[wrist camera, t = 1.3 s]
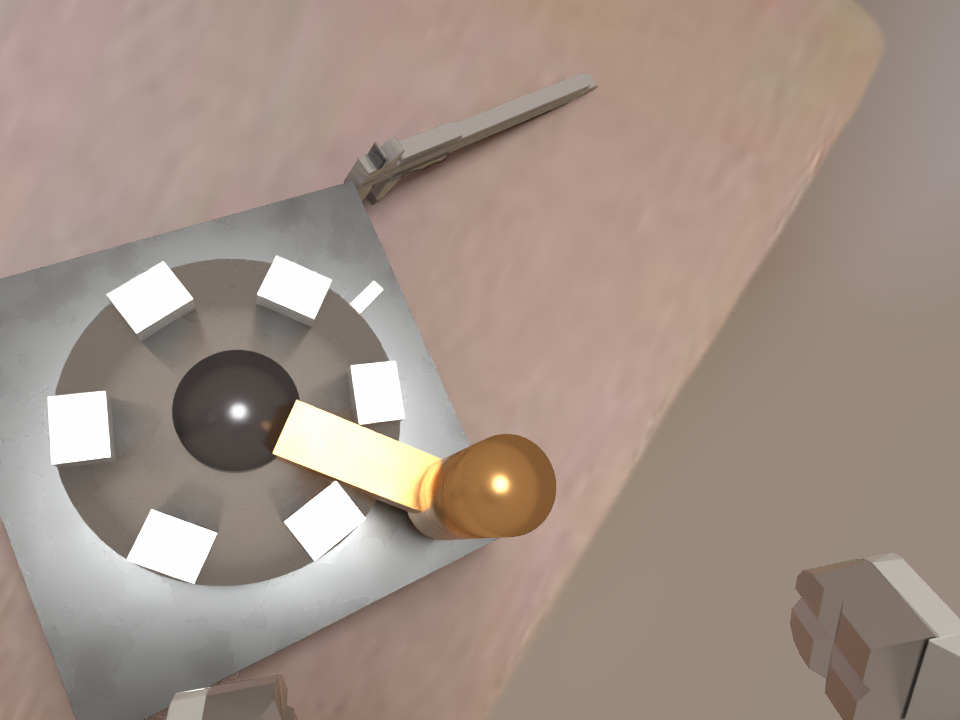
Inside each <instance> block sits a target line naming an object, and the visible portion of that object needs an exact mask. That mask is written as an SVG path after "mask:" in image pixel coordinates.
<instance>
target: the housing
mask: <svg viewBox="0 0 960 720" xmlns="http://www.w3.org/2000/svg"><path fill="white" fill-rule="evenodd" d="M276 255H277V256H280V257H282V258H284V259H286V260H289V261H291V262H293V263H295V264H298V265H300V266H302V267H304V268H307V269H309V270H311V271H313V272H316V273H318V274H320V275H322V276H325V277H327V278H329V279H331V280H332V282H331V285H330V289H331V290H333V291H334V292H336V293H337V294H339V295H340V296H341V297H342V298H343V299H344V300H346V301H347V302H348V303H349V304H350V305H351V306H352V307H354V308H355V310H356V311H357V312H358V313H359V314H360V315H361V316H362V317H363V318H364V320H365V321H366V322H367V323H368V324H369V326H370V327H371V329H372V330H373V332H374V333H375V335H376V336H377V337H378V339H379V341H380V343H381V345H382V347H383V349H384V350H385V352H386V354H387V356H388V359H389V361H396V365H397V372H398V378H399V385H400V391H401V398H402V404H403V411H404V417H405V419H404V420H402V421H401V422H400V436H399V442H401V443H404V444H406V445H408V446H411V447H413V448H416V449H418V450H421V451H423V452H426V453H428V454H430V455H433V456H435V457H438V458H440V459H443V458H445V457H448V456H450V455H452V454H454V453H456V452H459V451H461V450H463V449H465V448H467V447H469V446H470V444H469V442H468V440H467V437H466V435H465V433H464V431H463V428H462V426H461V424H460V422H459V419H458V417H457V415H456V413H455V410H454V408H453V406H452V404H451V401H450V399H449V397H448V395H447V392H446V390H445V388H444V386H443V383H442V381H441V379H440V377H439V374H438V372H437V370H436V368H435V365H434V363H433V361H432V358H431V356H430V354H429V352H428V349H427V347H426V345H425V343H424V340H423V338H422V336H421V334H420V331H419V329H418V327H417V325H416V322H415V320H414V318H413V316H412V313H411V311H410V309H409V307H408V304H407V302H406V300H405V298H404V295H403V293H402V291H401V289H400V286H399V284H398V282H397V280H396V277H395V275H394V273H393V270H392V268H391V266H390V264H389V261H388V259H387V257H386V255H385V252H384V250H383V248H382V246H381V243H380V241H379V239H378V237H377V234H376V232H375V230H374V228H373V225H372V223H371V221H370V219H369V216H368V214H367V212H366V210H365V207H364V205H363V203H362V201H361V198H360V196H359V194H358V192H357V189H356V187H355V185H354V182H353V181H351V182H348V183H344V184H341V185H337V186H333V187H330V188H326V189H323V190H319V191H315V192H312V193H308V194H305V195H301V196H297V197H294V198H290V199H287V200H283V201H279V202H276V203H272V204H269V205H265V206H261V207H258V208H254V209H251V210H247V211H243V212H240V213H236V214H233V215H229V216H225V217H222V218H218V219H215V220H211V221H207V222H204V223H200V224H197V225H193V226H189V227H186V228H182V229H179V230H175V231H171V232H168V233H164V234H161V235H157V236H153V237H150V238H146V239H143V240H139V241H135V242H132V243H128V244H125V245H121V246H117V247H114V248H110V249H107V250H103V251H99V252H96V253H92V254H89V255H85V256H81V257H78V258H74V259H71V260H67V261H64V262H60V263H56V264H53V265H49V266H46V267H42V268H38V269H35V270H31V271H28V272H24V273H20V274H17V275H13V276H10V277H6V278H2V279H0V515H1V518H2V521H3V523H4V526H5V529H6V531H7V534H8V537H9V540H10V542H11V545H12V548H13V550H14V553H15V556H16V559H17V561H18V564H19V567H20V569H21V572H22V575H23V578H24V580H25V583H26V586H27V588H28V591H29V594H30V596H31V599H32V602H33V605H34V607H35V610H36V613H37V615H38V618H39V621H40V624H41V626H42V629H43V632H44V634H45V637H46V640H47V643H48V645H49V648H50V651H51V653H52V656H53V659H54V661H55V664H56V667H57V670H58V672H59V675H60V678H61V680H62V683H63V686H64V689H65V691H66V694H67V697H68V699H69V702H70V705H71V708H72V710H73V713H74V716H75V718H76V720H144V719H146V718H148V717H150V716H152V715H154V714H156V713H158V712H160V711H162V710H164V709H166V708H168V707H169V705H170V703H171V701H172V699H173V698H174V696H175V694H176V693H180V692H185V691H191V690H196V689H201V688H207V687H209V686H211V685H213V684H215V683H216V682H218V681H220V680H222V679H224V678H226V677H228V676H230V675H232V674H234V673H236V672H238V671H240V670H242V669H244V668H246V667H248V666H250V665H252V664H254V663H256V662H258V661H260V660H261V659H263V658H265V657H267V656H269V655H271V654H273V653H275V652H277V651H279V650H281V649H283V648H285V647H287V646H289V645H291V644H293V643H295V642H297V641H299V640H301V639H303V638H305V637H306V636H308V635H310V634H312V633H314V632H316V631H318V630H320V629H322V628H324V627H326V626H328V625H330V624H332V623H334V622H336V621H338V620H340V619H342V618H344V617H346V616H348V615H350V614H351V613H353V612H355V611H357V610H359V609H361V608H363V607H365V606H367V605H369V604H371V603H373V602H375V601H377V600H379V599H381V598H383V597H385V596H387V595H389V594H391V593H393V592H395V591H396V590H398V589H400V588H402V587H404V586H406V585H408V584H410V583H412V582H414V581H416V580H418V579H420V578H422V577H424V576H426V575H428V574H430V573H432V572H434V571H436V570H438V569H440V568H442V567H443V566H445V565H447V564H449V563H451V562H453V561H455V560H457V559H459V558H461V557H463V556H465V555H467V554H469V553H471V552H473V551H475V550H477V549H479V548H481V547H483V546H485V545H487V544H488V543H490V542H492V541H494V540H496V539H498V538H482V539H464V540H435V539H432V538H430V537H427V536H426V535H424V534H422V533H421V532H420V531H419V530H418V529H417V528H416V527H415V526H414V524H413V523H412V521H411V519H410V517H409V515H408V511H406V510H403V509H401V508H398V507H395V506H393V505H390V504H388V503H385V502H383V501H380V500H377V501H376V503H375V504H374V506H373V507H372V509H371V511H370V512H369V513H368V515H367V516H366V517H365V518H366V519H365V520H364V521H363V522H361V523H360V524H359V526H358V527H357V528H356V529H355V530H354V531H353V532H352V533H351V534H350V535H349V536H348V537H347V538H345V539H344V540H343V541H342V542H341V543H340V544H339V545H338V546H336V547H335V548H333V549H332V550H331V551H329V552H328V553H327V554H325V555H324V556H322V557H321V558H319V559H317V560H316V561H314V562H312V563H310V564H308V565H306V566H305V567H303V568H301V569H298V570H296V571H293V572H291V573H288V574H286V575H283V576H281V577H278V578H274V579H270V580H266V581H262V582H258V583H252V584H244V585H236V586H206V585H198V584H191V583H184V582H180V581H177V580H173V579H169V578H166V577H162V576H160V575H157V574H155V573H153V572H150V571H148V570H145V569H143V568H141V567H139V566H137V565H135V564H134V563H132V562H130V561H127V559H125V558H124V557H122V556H120V555H119V554H118V553H116V552H115V551H114V550H113V549H111V548H110V547H109V546H108V545H107V544H105V543H104V542H103V541H102V540H100V539H99V537H98V536H97V535H96V534H95V533H94V532H93V531H92V530H91V529H90V528H89V526H88V525H87V524H86V523H85V522H84V521H83V519H82V518H81V516H80V515H79V513H78V512H77V510H76V509H75V507H74V506H73V504H72V503H71V501H70V499H69V497H68V495H67V492H66V490H65V488H64V486H63V484H62V482H61V479H60V475H59V472H58V469H57V467H56V466H54V465H52V464H51V447H50V430H49V413H48V397H50V396H55V391H56V387H57V384H58V381H59V378H60V375H61V372H62V369H63V366H64V364H65V362H66V360H67V358H68V356H69V354H70V352H71V350H72V348H73V346H74V345H75V343H76V342H77V340H78V339H79V337H80V336H81V334H82V333H83V331H84V330H85V329H86V327H87V326H88V325H89V324H90V323H91V322H92V321H93V319H94V318H95V317H96V316H97V315H98V314H99V313H100V312H101V311H102V310H103V309H104V308H105V307H106V306H107V305H109V304H110V301H109V299H108V298H107V296H106V294H107V293H109V292H111V291H113V290H114V289H116V288H118V287H120V286H121V285H123V284H125V283H126V282H128V281H130V280H132V279H133V278H135V277H137V276H138V275H140V274H142V273H144V272H145V271H147V270H149V269H150V268H152V267H154V266H156V265H157V264H159V263H161V262H162V261H164V262H165V263H166V265H167V266H168V267H169V268H170V269H171V268H174V267H177V266H181V265H185V264H189V263H194V262H198V261H206V260H215V259H247V260H255V261H263V262H268V263H273V261H274V259H275V257H276Z"/></svg>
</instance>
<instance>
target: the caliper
mask: <svg viewBox="0 0 960 720" xmlns="http://www.w3.org/2000/svg"><path fill="white" fill-rule="evenodd" d="M597 86H598V85H597V84H596V83H595V81H594V80H593V78H592V77H591V75H590V74H586V75H584V73H581V74H578V75H576V76H573V77H571V78H568V79H566V80H563V81H561V82H558V83H555V84H553V85H550V86H548V87H545V88H543V89H540V90H538V91H535V92H533V93H530V94H528V95H525V96H523V97H520V98H517V99H515V100H512V101H510V102H507V103H505V104H502V105H500V106H497V107H495V108H492V109H490V110H487V111H485V112H482V113H480V114H477V115H475V116H472V117H470V118H467V119H465V120H462V121H459V122H457V123H454V122H453V121H451V122H449V123H446V124H444V125H441V126H438V127H436V128H433V129H430V130H428V131H425V132H423V133H420V134H417V135H415V136H412V137H410V138H407V139H404V140H402V141H398V140H397V138H396V137H395V136H394V135H393V136H392V137H390V138H389V139H388V140H387V141H386V142H385V143H384V144H383V145H382V146H381V147H380V146H379V144H378V143H377V142H375V143H374V145H373V146H372V148H371V150H370V151H369V153H368V154H367V155H365V156H363V157H361V158H358V160H357V162H356V163H355V165H354V166H353V168H352V169H351V171H350V173H349V174H348V176H347V177H346V179H345V181H344V183H348V182H351V181H353V182H354V185H355V187H356V189H357V192H358V194H359V196H360V198H361V201H362V202H363V201H364V199H365V198H366V196H367V198H368V199H369V201H370V202H371V204H372V205H373V204H375V203H377V202H379V201H380V200H381V199H382V198H383V197H384V196H385V195H386V194H387V193H388V192H389V191H390V190H391V189H392V188H393V187H394V186H395V184H396V183H397V182H398V181H399V180H400V179H401V178H402V177H403V176H404V175H405V174H407V173H409V172H411V171H417V170H422V169H425V168H427V167H429V166H431V165H433V164H436V163H439V162H442V161H443V160H445V159H446V157H447V156H448V155H449V153H451V152H453V151H455V150H458V149H460V148H462V147H465V146H467V145H470V144H472V143H474V142H477V141H479V140H481V139H484V138H486V137H488V136H491V135H493V134H495V133H498V132H500V131H502V130H505V129H507V128H509V127H512V126H514V125H517V124H519V123H521V122H524V121H526V120H528V119H531V118H533V117H536V116H538V115H540V114H543V113H545V112H548V111H550V110H552V109H555V108H557V107H559V106H562V105H564V104H566V103H568V102H570V101H572V100H574V99H576V98H578V97H580V96H582V95H583V94H584V93H586V92H588V91H591V90H593V89H595V88H596V87H597Z"/></svg>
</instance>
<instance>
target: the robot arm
mask: <svg viewBox="0 0 960 720" xmlns="http://www.w3.org/2000/svg"><path fill="white" fill-rule="evenodd" d="M795 588H796V590H797V591H798V593H799V594H800V596H801V597H802V598H801V599H800V600H799V601H798V602H797V603H796V604H795V605H794V607H793V608H792V612H791V620H790V625H791V630H792V635H793V639H794V642H795V645H796V647H797V649H798V651H799V654H800V655H801V657H802V659H803V660H804V661H805V663H806V665H807V666H808V668H809V669H811V670H813V671H814V672H816V673H818V674H819V675H821V676H823V677H824V678H826V686H825V694H826V695H827V697H828V698H829V700H830V701H831V703H832V704H833V706H834V707H835V709H836V710H837V712H838V713H839V715H840V716H841V718H842V719H843V720H960V619H959V618H958V617H957V616H956V615H955V614H954V612H953V611H952V610H951V609H950V608H949V607H948V606H947V605H946V604H945V603H944V602H943V601H942V600H941V599H940V598H939V597H938V596H937V595H936V594H935V592H934V591H933V590H932V589H931V588H930V587H929V586H928V585H927V584H926V583H925V582H924V581H923V580H922V579H921V578H920V577H919V576H918V575H917V574H916V572H915V571H914V570H913V569H912V568H911V567H910V566H909V565H908V564H907V563H906V562H905V561H904V560H903V559H902V558H901V557H900V556H898V555H896V554H894V553H888V554H883V555H877V556H872V557H867V558H863V559H855V560H850V561H845V562H840V563H835V564H831V565H826V566H821V567H817V568H812V569H807V570H803V571H802V572H801V573H800V574H799V575H798V576H797V581H796V587H795ZM286 704H287V687H286V684H285V682H284V679H283V676H282V675H276V676H270V677H264V678H258V679H252V680H247V681H241V682H235V683H229V684H223V685H217V686H211V687H207V688H201V689H196V690H191V691H185V692H180V693H176V694H175V696H174V698H173V699H172V701H171V703H170V705H169V709H168V713H167V717H166V720H297V717H296V714H295V711H294V709H293V708H291V707H289V706H288V705H286Z"/></svg>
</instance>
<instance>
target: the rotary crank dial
mask: <svg viewBox="0 0 960 720" xmlns="http://www.w3.org/2000/svg"><path fill="white" fill-rule="evenodd" d="M331 282H332V280H331V279H329V278H327V277H325V276H322V275H320V274H318V273H316V272H313V271H311V270H309V269H307V268H304V267H302V266H300V265H298V264H295V263H293V262H291V261H289V260H286V259H284V258H282V257H280V256H277V255H276V257H275V259H274V261H273V263H268V262H263V261H255V260H247V259H215V260H206V261H198V262H194V263H189V264H185V265H181V266H177V267H174V268H171V269H170V268H169V267H168V266H167V265H166V263H165V262H164V261H162V262H161V263H159V264H157V265H156V266H154V267H152V268H150V269H149V270H147V271H145V272H144V273H142V274H140V275H138V276H137V277H135V278H133V279H132V280H130V281H128V282H126V283H125V284H123V285H121V286H120V287H118V288H116V289H114V290H113V291H111V292H109V293H107V294H106V296H107V298H108V299H109V301H110V304H109V305H107V306H106V307H105V308H104V309H103V310H102V311H101V312H100V313H99V314H98V315H97V316H96V317H95V318H94V319H93V321H92V322H91V323H90V324H89V325H88V326H87V327H86V329H85V330H84V331H83V333H82V334H81V336H80V337H79V339H78V340H77V342H76V343H75V345H74V346H73V348H72V350H71V352H70V354H69V356H68V358H67V360H66V362H65V364H64V366H63V369H62V372H61V375H60V378H59V381H58V384H57V387H56V391H55V396H50V397H48V413H49V430H50V447H51V464H52V465H54V466H56V467H57V469H58V472H59V475H60V479H61V482H62V484H63V486H64V488H65V490H66V492H67V495H68V497H69V499H70V501H71V503H72V504H73V506H74V507H75V509H76V510H77V512H78V513H79V515H80V516H81V518H82V519H83V521H84V522H85V523H86V524H87V525H88V526H89V528H90V529H91V530H92V531H93V532H94V533H95V534H96V535H97V536H98V537H99V539H100V540H102V541H103V542H104V543H105V544H107V545H108V546H109V547H110V548H111V549H113V550H114V551H115V552H116V553H118V554H119V555H120V556H122V557H124V558H125V559H127V561H130V562H132V563H134V564H135V565H137V566H139V567H141V568H143V569H145V570H148V571H150V572H153V573H155V574H157V575H160V576H162V577H166V578H169V579H173V580H177V581H180V582H184V583H191V584H198V585H206V586H236V585H244V584H252V583H258V582H262V581H266V580H270V579H274V578H278V577H281V576H283V575H286V574H288V573H291V572H293V571H296V570H298V569H301V568H303V567H305V566H306V565H308V564H310V563H312V562H314V561H316V560H317V559H319V558H321V557H322V556H324V555H325V554H327V553H328V552H329V551H331V550H332V549H333V548H335V547H336V546H338V545H339V544H340V543H341V542H342V541H343V540H344V539H345V538H347V537H348V536H349V535H350V534H351V533H352V532H353V531H354V530H355V529H356V528H357V527H358V526H359V524H360V523H361V522H363V521H364V520H365V519H366V518H365V517H366V516H367V515H368V513H369V512H370V511H371V509H372V507H373V506H374V504H375V503H376V501H377V500H380V501H383V502H385V503H388V504H390V505H393V506H395V507H398V508H401V509H403V510H406V511H408V515H409V517H410V519H411V521H412V523H413V524H414V526H415V527H416V528H417V529H418V530H419V531H420V532H421V533H422V534H424V535H426V536H427V537H430V538H432V539H435V540H464V539H482V538H500V537H515V536H521V535H524V534H527V533H529V532H531V531H533V530H534V529H536V528H537V527H538V526H540V525H541V524H542V523H543V522H544V520H545V519H546V518H547V516H548V515H549V513H550V511H551V509H552V507H553V504H554V501H555V496H556V479H555V474H554V470H553V468H552V465H551V463H550V461H549V459H548V457H547V456H546V455H545V453H544V452H543V451H542V450H541V449H540V448H539V447H538V446H537V445H536V444H535V443H533V442H532V441H530V440H528V439H526V438H524V437H521V436H518V435H513V434H500V435H495V436H492V437H489V438H487V439H485V440H483V441H480V442H478V443H476V444H474V445H472V446H469V447H467V448H465V449H463V450H461V451H459V452H456V453H454V454H452V455H450V456H448V457H445V458H443V459H440V458H438V457H435V456H433V455H430V454H428V453H426V452H423V451H421V450H418V449H416V448H413V447H411V446H408V445H406V444H404V443H401V442H399V436H400V422H401V421H402V420H404V419H405V417H404V411H403V404H402V398H401V391H400V385H399V378H398V372H397V365H396V361H389V359H388V356H387V354H386V352H385V350H384V349H383V347H382V345H381V343H380V341H379V339H378V337H377V336H376V335H375V333H374V332H373V330H372V329H371V327H370V326H369V324H368V323H367V322H366V321H365V320H364V318H363V317H362V316H361V315H360V314H359V313H358V312H357V311H356V310H355V308H354V307H352V306H351V305H350V304H349V303H348V302H347V301H346V300H344V299H343V298H342V297H341V296H340V295H339V294H337V293H336V292H334V291H333V290H331V289H330V285H331Z"/></svg>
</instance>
